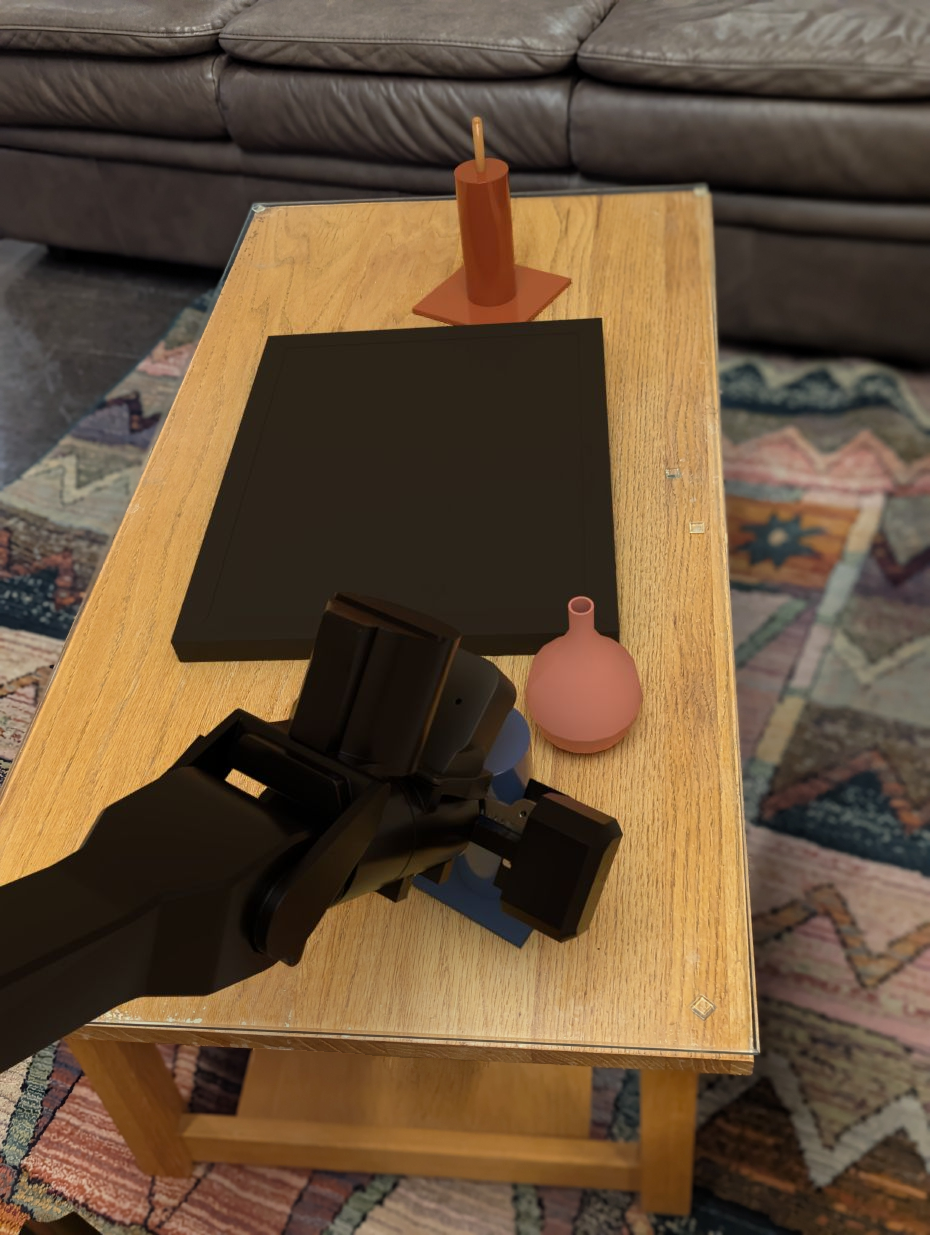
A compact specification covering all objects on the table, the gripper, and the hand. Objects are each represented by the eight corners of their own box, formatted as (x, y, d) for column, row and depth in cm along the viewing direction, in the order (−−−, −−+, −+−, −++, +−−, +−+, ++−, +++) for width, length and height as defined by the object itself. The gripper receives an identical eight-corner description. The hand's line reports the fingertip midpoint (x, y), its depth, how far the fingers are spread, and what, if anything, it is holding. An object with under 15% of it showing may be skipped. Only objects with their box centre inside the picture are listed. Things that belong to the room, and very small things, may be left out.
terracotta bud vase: (662, 745, 72) (669, 624, 63) (560, 789, 70) (553, 672, 62) (605, 667, 77) (605, 545, 68) (509, 707, 75) (496, 587, 67)
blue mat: (520, 949, 63) (520, 945, 63) (411, 885, 67) (410, 880, 66) (589, 847, 67) (589, 841, 67) (483, 791, 71) (482, 786, 70)
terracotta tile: (509, 341, 106) (509, 336, 106) (412, 313, 112) (411, 308, 111) (571, 283, 113) (571, 278, 112) (476, 258, 118) (476, 253, 117)
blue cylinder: (479, 914, 64) (457, 792, 55) (444, 846, 68) (417, 721, 58) (556, 877, 65) (547, 752, 56) (518, 812, 69) (503, 684, 59)
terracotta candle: (499, 311, 109) (484, 133, 96) (457, 299, 111) (437, 124, 98) (526, 286, 112) (515, 110, 99) (484, 275, 114) (469, 101, 101)
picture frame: (179, 662, 81) (619, 653, 78) (170, 641, 80) (619, 631, 76) (273, 356, 109) (602, 338, 105) (268, 335, 107) (602, 317, 103)
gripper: (603, 742, 44) (701, 717, 57) (255, 590, 52) (415, 600, 65) (516, 988, 45) (631, 905, 59) (190, 803, 53) (360, 769, 67)
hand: (504, 784), depth 63 cm, fingers open, 6 cm apart
